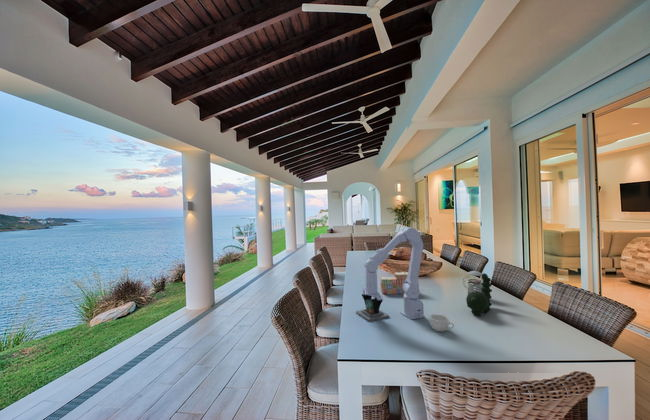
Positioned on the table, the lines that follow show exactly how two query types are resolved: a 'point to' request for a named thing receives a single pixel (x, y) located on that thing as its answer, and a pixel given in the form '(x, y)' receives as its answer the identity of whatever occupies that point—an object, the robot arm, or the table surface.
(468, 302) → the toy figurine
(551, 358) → the table surface
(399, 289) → the stack of blocks
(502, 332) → the table surface
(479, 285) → the french press
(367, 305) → the block stack
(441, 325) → the teacup
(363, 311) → the plate
